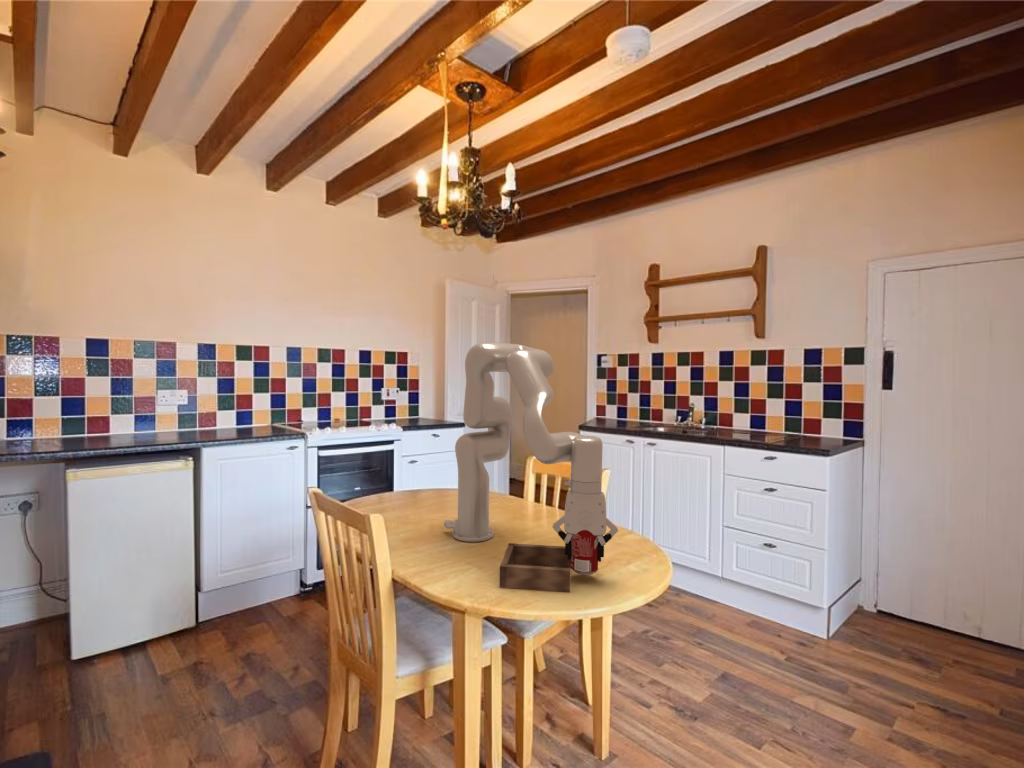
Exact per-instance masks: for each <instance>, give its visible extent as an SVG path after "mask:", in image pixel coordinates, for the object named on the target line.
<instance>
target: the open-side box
mask: <svg viewBox="0 0 1024 768" xmlns="http://www.w3.org/2000/svg"><path fill="white" fill-rule="evenodd" d="M499 588H508V589H520V590H533V591H535V590H536V591H547V592H549V591H550V592H561V593H562V592H563V593H570V592H571V568H570V560H568V555H565V545H564V546H563V545H545V544H544V545H543V544H532V543H531V544H529V543H528V544H527V543H512V542H509V543H508V544H507V546H506V549H505V552H504V555H503V557H502V559H501V563H500V565H499Z"/></svg>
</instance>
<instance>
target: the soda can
mask: <svg viewBox="0 0 1024 768" xmlns="http://www.w3.org/2000/svg"><path fill="white" fill-rule="evenodd" d="M584 527H585V526H584ZM598 545H599V539H598V536H594V535H593V534H592V533H591V532H590V531H588V530H582V531H579V532H578V533H577V534H576V535H573V534H572V537H571V559H570V571H571V570H572V571H573V572H574V573H576V574H578V575H584V576H587V575H589V576H590V575H593V574H594V573H597V572H598V570H599V561H598Z"/></svg>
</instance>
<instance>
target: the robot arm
mask: <svg viewBox="0 0 1024 768" xmlns="http://www.w3.org/2000/svg"><path fill="white" fill-rule="evenodd" d="M464 368H465V369H464V370H465V372H464V373H465V389H464V391H465V392H464V402H463V412H462V414H463V416H462V417H463V423H464V425H465V426H466V427H468V428H469V429H475V430H477V429H479V430H480V429H487V430H485V431H477V432H476V431H474V432H473V431H472V432H467V433H464V434H462V435H461V436H459V438H457V440H456V442H455V445H454V450H455V457H456V463H457V519H454V520H451V519H445V520H444V521H443V526H444V527H445V528H446V529H453V531H452V537H453V538H454V539H456V540H457V541H460V542H466V543H467V542H468V543H475V542H477V543H478V542H483V541H484V542H485V541H488V540H490V539H492V538H493V537H494V533H495V532H494V530H493V529H492V528H490V522H489V521H490V475H489V472H488V471H487V468H486V466H485V465H484V464H486V463H490V462H495V461H496V462H497V461H500V460H503V459H504V458H505V457H506V456H507V454H508V452H509V450H510V445H511V443H510V442H511V434H512V433H511V432H512V422H513V411H512V406H511V404H510V402H509V401H508V400H507V399H506V398H505V397H502V396H494V392H495V383H494V379H493V377H492V374H491V373H492V372H493V373H497V372H498V373H508V374H509V377H510V379H511V381H512V383H513V385H514V387H515V389H516V391H517V393H518V395H519V397H520V399H521V401H522V404H523V405H524V412H523V415H522V432H523V435H524V436H523V437H524V438H525V441H526V443H527V445H528V447H529V449H530V451H531V453H532V454H533V456H534V458H535V459H536V460H537V461H539V462H540V463H541V464H545V465H554V464H559V463H565V462H567V463H568V462H570V479H569V480H565V481H564V487H565V488H568V489H569V490H567V493H566V497H565V505H564V515H563V516H561V517H560V518H559V519H558V520H557V521H556V520H555V522H553V524H552V528H553V530H554V531H555V532H556V534H557V535H558V536H559V537H560V539H561V540H563V542H564V543H565V544H564V546H565V555H568V560H570V559H571V541H570V539H571V537H572V534H573V535H576V534H577V533H578V532H579V531H582V530H588V531H590V532H591V533H592V534H593V535H594V536H598V539H599V545H598V563H600V562H602V558H604V557H605V546H606V544H607V543H608V542H609V541H610V540H611V539H612V538H614V536H615V535H616V534H617V533H618V532H619V528H618V527H617V526H616V525H615V524H613V522H612V521H611V520H610V519H608V517H607V502H606V495H605V493H604V492H603V491H602V486H603V485H602V482H603V440H602V439H601V438H600V437H598V436H595V435H594V436H593V435H584V434H581V433H579V432H575V431H561V432H551V433H550V432H549V431H548V428H547V426H546V424H545V422H544V419H543V409H544V408H545V407H547V405H549V404H550V403H551V402H552V401H553V399H554V397H555V394H554V391H553V389H552V386H551V385H550V383H549V381H548V378H550V377H551V376H552V375H553V372H554V369H555V364H554V360H553V358H552V356H551V355H550V354H549V353H548V352H547V351H545V350H542V349H540V348H539V349H538V348H535V347H530V346H526V345H524V344H523V345H522V344H518V343H505V342H494V341H493V342H486V341H485V342H480V343H477V344H474V345H473V346H471V348H469V349H468V351H467V353H466V356H465V360H464ZM562 525H563V529H564V530H563V529H562V528H561V526H562ZM584 526H585V527H584ZM607 528H609V531H608V532H607Z"/></svg>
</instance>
